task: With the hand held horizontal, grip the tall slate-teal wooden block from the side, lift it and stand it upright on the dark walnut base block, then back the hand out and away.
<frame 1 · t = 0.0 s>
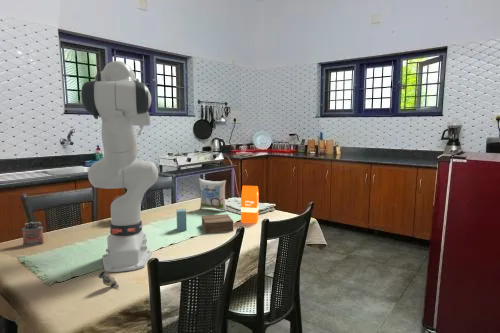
hand: (128, 135, 159), 48 cm above the table, tool pointing down, fingers open, 8 cm apart
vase: (108, 288, 108), on the table
teal block: (181, 229, 170), on the table
pouch: (212, 210, 210), on the table
walnut base: (217, 227, 173), on the table
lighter: (33, 244, 148), on the table
orange juice: (249, 221, 186), on the table
decorative planter: (125, 220, 186), on the table
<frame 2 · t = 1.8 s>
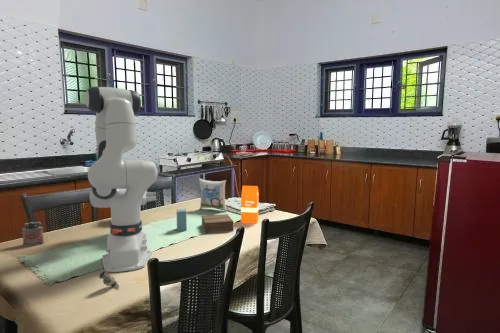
hand: (156, 196, 165), 18 cm above the table, tool horizontal, fingers open, 8 cm apart
nothing on the table moved.
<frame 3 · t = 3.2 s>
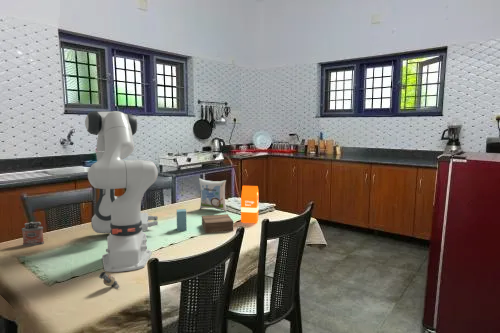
hand: (157, 220, 166), 6 cm above the table, tool horizontal, fingers open, 8 cm apart
nothing on the table moved.
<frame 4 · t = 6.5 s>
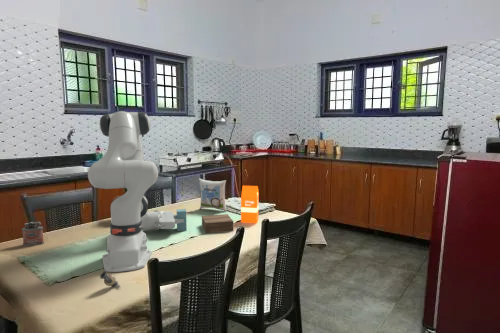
hand: (183, 218, 170), 6 cm above the table, tool horizontal, fingers closed on teal block, 4 cm apart
teal block: (181, 229, 170), on the table, touching gripper
everything else where it was.
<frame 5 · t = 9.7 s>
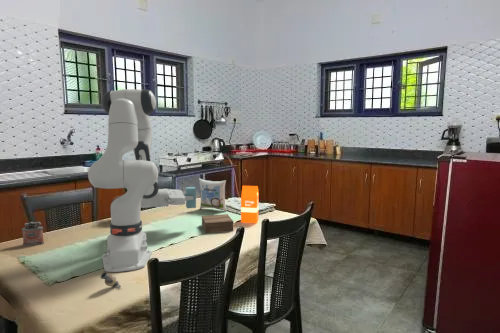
hand: (192, 196, 170), 17 cm above the table, tool horizontal, fingers closed on teal block, 4 cm apart
teal block: (190, 207, 170), point 11 cm above the table, touching gripper
everything else where it was.
when the fingers open (11 cm above the table, at t = 12.9 s): teal block stays where it is, resting on walnut base.
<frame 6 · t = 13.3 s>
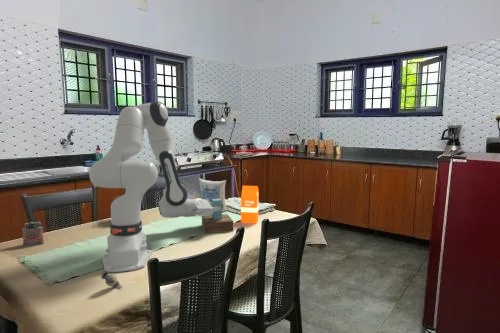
hand: (218, 206, 172), 11 cm above the table, tool horizontal, fingers open, 8 cm apart
teal block: (217, 218, 173), point 5 cm above the table, touching walnut base
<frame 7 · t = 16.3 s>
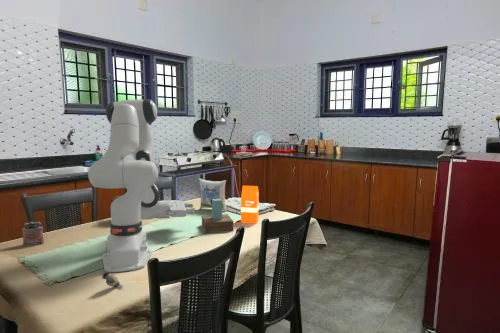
hand: (193, 207, 169), 11 cm above the table, tool horizontal, fingers open, 8 cm apart
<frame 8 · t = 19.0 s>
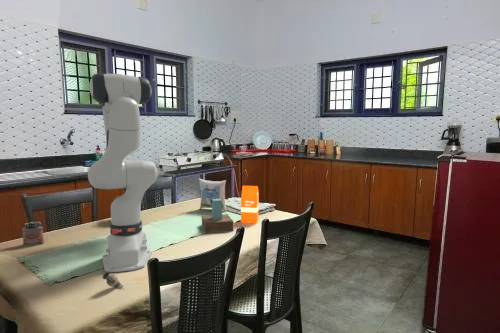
hand: (164, 171, 164), 30 cm above the table, tool horizontal, fingers open, 8 cm apart
at the end: teal block inside the target area on the walnut base (0.1 cm from its centre), point 5.0 cm above the walnut base's base; teal block tilted 0°; the gripper is holding nothing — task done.
